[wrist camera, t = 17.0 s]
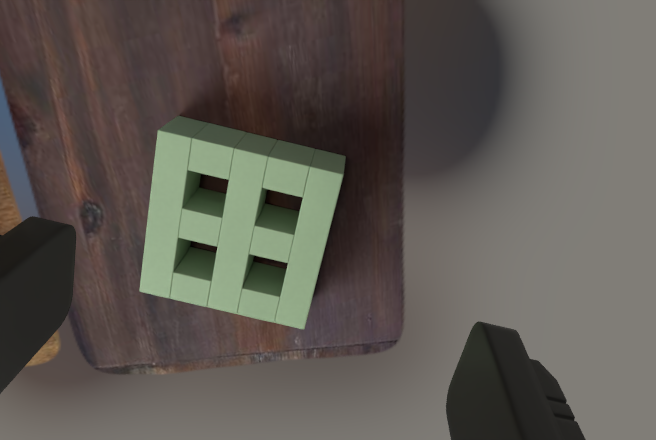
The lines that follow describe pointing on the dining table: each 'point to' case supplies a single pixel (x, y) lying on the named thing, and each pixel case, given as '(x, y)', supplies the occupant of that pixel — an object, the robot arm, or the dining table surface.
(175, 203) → the rack
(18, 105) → the dining table surface
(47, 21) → the dining table surface
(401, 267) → the dining table surface
